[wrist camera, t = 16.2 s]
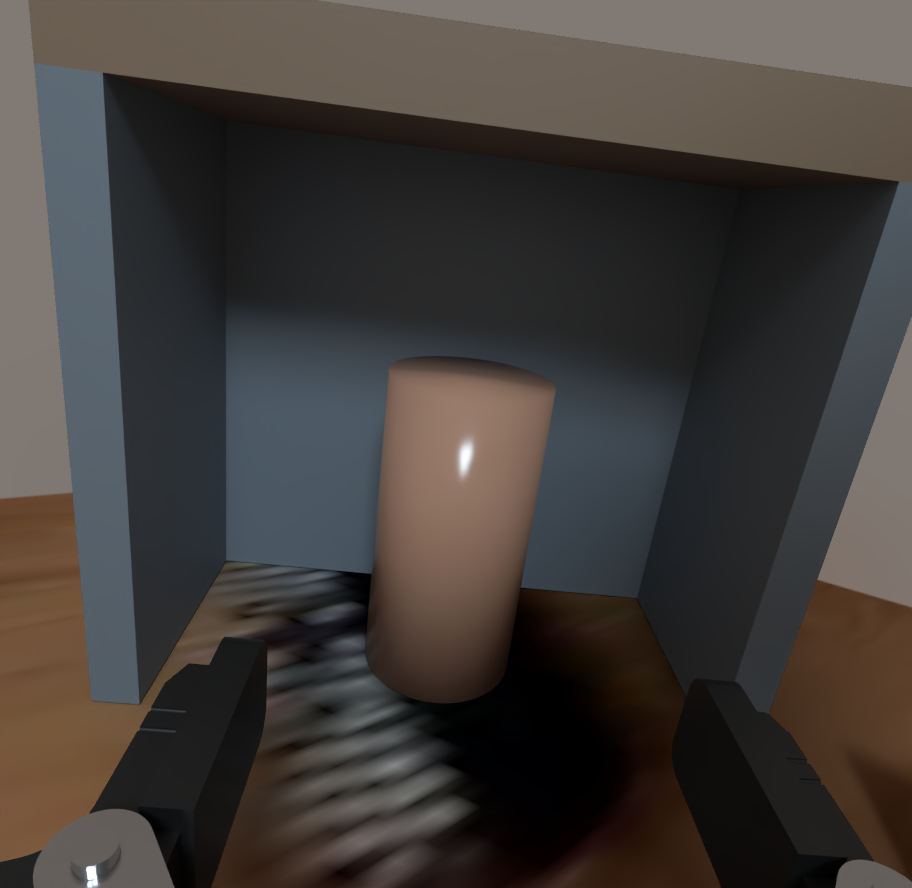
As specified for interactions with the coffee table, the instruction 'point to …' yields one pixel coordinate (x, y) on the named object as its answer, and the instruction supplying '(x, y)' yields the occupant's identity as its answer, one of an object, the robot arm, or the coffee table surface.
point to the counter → (461, 302)
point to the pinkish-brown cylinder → (453, 522)
